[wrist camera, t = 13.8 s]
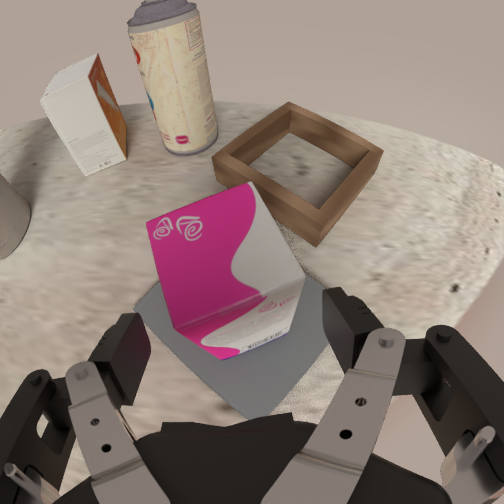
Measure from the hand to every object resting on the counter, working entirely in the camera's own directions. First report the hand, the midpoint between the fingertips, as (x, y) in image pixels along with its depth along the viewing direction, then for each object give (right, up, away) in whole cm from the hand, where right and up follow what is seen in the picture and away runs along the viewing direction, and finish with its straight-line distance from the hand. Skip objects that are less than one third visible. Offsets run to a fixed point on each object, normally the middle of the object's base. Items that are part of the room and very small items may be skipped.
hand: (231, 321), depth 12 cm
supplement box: (0, -2, +10) cm, 11 cm away
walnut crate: (+6, +11, +17) cm, 21 cm away
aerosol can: (-7, +17, +21) cm, 28 cm away
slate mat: (0, -2, +11) cm, 11 cm away
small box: (-19, +17, +21) cm, 33 cm away
